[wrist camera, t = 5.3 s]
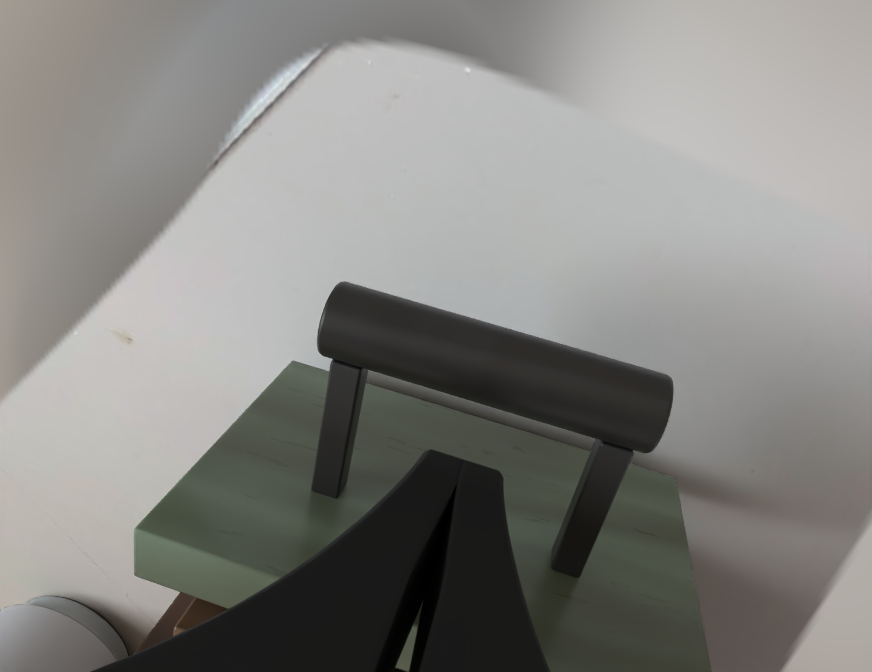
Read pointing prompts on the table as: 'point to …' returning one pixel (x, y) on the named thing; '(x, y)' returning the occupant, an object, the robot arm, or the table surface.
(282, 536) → the drawer
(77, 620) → the energy drink can
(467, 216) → the table surface
